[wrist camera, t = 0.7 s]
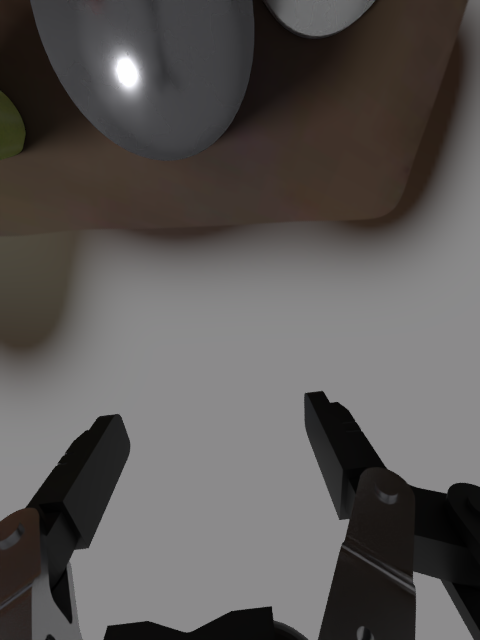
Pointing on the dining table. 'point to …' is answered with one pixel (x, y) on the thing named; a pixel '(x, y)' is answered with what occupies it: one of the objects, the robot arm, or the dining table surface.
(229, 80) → the cooker pot
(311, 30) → the cooker lid
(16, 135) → the plant pot
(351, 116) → the dining table surface
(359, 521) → the robot arm
